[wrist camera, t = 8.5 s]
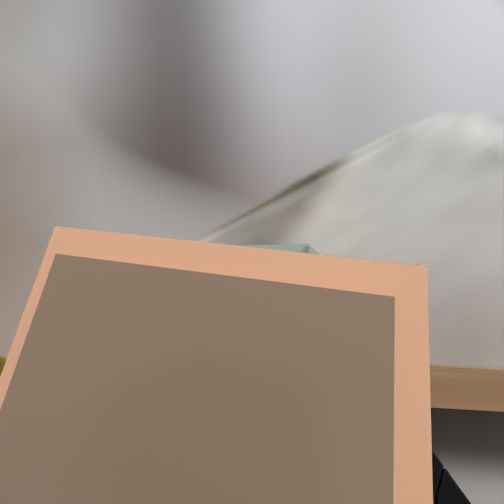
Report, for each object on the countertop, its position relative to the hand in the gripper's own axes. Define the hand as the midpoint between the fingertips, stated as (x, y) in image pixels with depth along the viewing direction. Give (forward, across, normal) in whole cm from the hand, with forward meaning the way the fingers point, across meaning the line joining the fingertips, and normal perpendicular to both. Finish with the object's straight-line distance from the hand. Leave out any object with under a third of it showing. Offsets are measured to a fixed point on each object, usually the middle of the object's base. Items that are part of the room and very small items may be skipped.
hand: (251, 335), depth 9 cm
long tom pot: (+4, 0, +6) cm, 7 cm away
